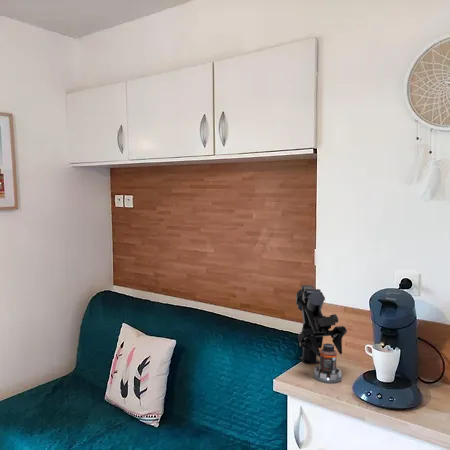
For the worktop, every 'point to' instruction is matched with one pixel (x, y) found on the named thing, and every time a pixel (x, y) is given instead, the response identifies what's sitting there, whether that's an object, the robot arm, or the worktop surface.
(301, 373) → the worktop surface
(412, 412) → the worktop surface
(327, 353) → the supplement bottle
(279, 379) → the worktop surface
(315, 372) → the ring collar
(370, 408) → the worktop surface
